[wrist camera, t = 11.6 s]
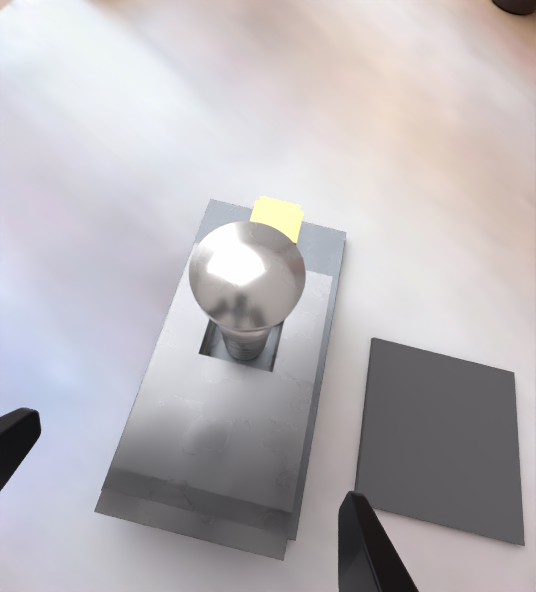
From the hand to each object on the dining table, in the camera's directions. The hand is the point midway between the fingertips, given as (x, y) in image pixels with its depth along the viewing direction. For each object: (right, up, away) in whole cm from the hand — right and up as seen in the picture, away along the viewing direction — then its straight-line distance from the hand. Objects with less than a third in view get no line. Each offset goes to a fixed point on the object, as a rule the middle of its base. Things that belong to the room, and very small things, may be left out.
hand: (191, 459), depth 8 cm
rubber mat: (+14, -5, +13) cm, 20 cm away
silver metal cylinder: (0, +2, +13) cm, 13 cm away
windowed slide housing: (0, +1, +14) cm, 14 cm away
